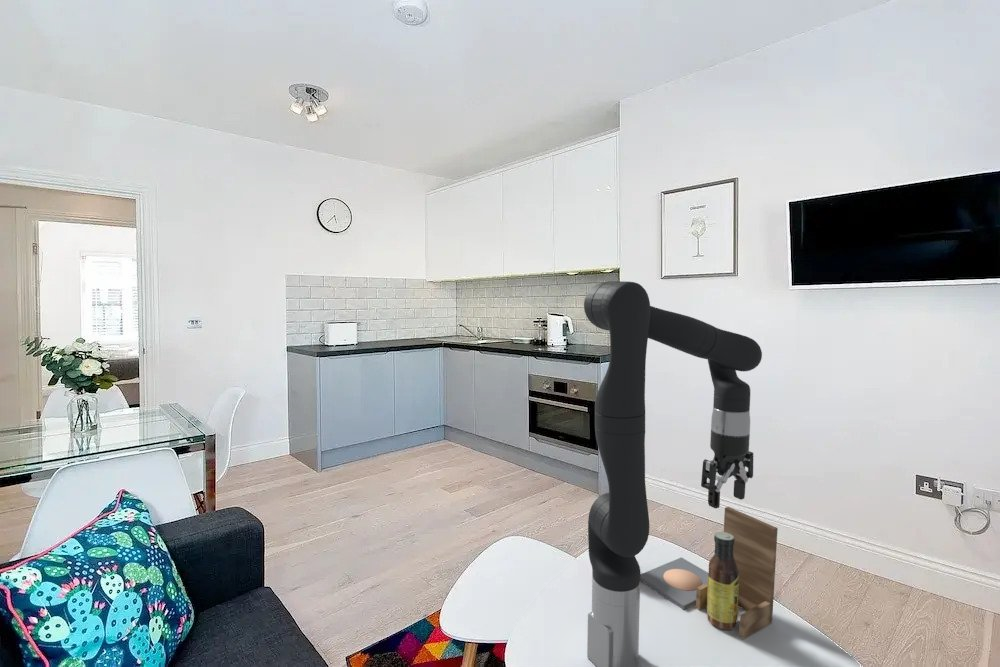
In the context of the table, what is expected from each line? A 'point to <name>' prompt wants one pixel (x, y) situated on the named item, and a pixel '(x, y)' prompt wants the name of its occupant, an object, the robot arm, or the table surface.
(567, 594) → the table surface
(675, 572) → the mat
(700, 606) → the shelf nook
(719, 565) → the sauce bottle
